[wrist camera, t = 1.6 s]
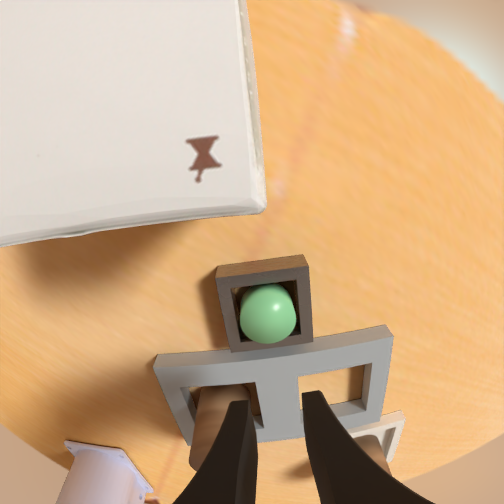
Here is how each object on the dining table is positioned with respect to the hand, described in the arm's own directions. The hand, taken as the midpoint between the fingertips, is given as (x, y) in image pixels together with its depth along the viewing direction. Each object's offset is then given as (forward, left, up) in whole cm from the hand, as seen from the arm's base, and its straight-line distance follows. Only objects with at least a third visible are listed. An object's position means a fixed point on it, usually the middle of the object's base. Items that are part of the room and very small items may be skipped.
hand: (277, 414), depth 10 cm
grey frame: (-8, 0, -9) cm, 12 cm away
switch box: (0, 0, -9) cm, 9 cm away
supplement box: (+12, +3, -10) cm, 15 cm away
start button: (0, 0, -9) cm, 9 cm away
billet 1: (-8, +4, -9) cm, 13 cm away
